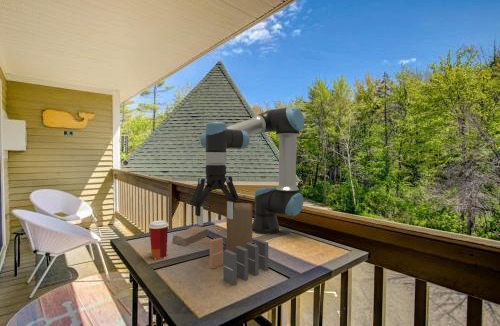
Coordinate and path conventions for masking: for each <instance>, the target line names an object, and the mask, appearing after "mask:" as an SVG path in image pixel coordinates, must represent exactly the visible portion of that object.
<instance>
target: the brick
mask: <svg viewBox="0 0 500 326" xmlns="http://www.w3.org/2000/svg"><path fill="white" fill-rule="evenodd" d="M207 235H208V228H207V227H203V226H191V227H189V228H187V229H185V230H183V231H179V232H176V233H175V234H173V235H172V241H171V243H172V244H173V245H177V246H181V247H186V246H189V245H191V244H194V243H196V242H198V241H201V240H202V239H204V238H206V237H207Z"/></svg>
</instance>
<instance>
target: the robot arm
mask: <svg viewBox="0 0 500 326" xmlns="http://www.w3.org/2000/svg"><path fill="white" fill-rule="evenodd" d="M304 117H305V116H304V114H303V112H302V110H301V109H300V108H298V107H295V106H294V107H293V106H292V107H290V106H288V107H282V108H276V109H273V108H272V109H270V110H266V111H264V112H261V113H259V114H256V115H253V116H252V118H250V119H247V120H244V121H240V122H238V123H234V124H231V125H227V123H226V122H224V121H209V122H207V123H206V126H205V132H203V133H202V134H201V135H200V139H199V140H200V145H201V147H202V148H204V149H205V164H206V165H205V175H206V176H205V178H203V177H198V180H197V185H196V187H195V190H194V192H193V195H192V197H191V199H190V202H189V204H190V205H191V206H193V207H194V211H195V214H194V215H195V216H196V224H197V225H198V226H200V227H203V226H204V207H203V206H202V205H203V204H204V202H205V201H206V199H207V198H208V196H209V195H210V193H211V192H212V191H216V190H220V191H222V193H223V194H224V196H225V197H226V198H227V201H226V219H227V218H229V219H233V210H234V203H237V201H238V200H239V195H238V192H237V189H236V187H235V185H234V182H233V177H232V176H228V175H227V165H226V164H227V150H228V149H229V150H244V149H247V147H249V144H250V136H253V135H255V134H259V135H260V134H264V133H274V132H275V135H276V136H277V138H278V186H276V187H275V186H273V187H270V186H269V187H262V188H257V189H255V191H254V217H253V220H252V233H256V234H261V235H271V234H277V233H279V232H280V224H279V223H278V222H279V221H278V218H277V214H279V215H284V216H289V217H296V216H298V215H299V214H300V212H301V211H302V209H303V207H304V196H303V194H302V193H301V192H300V188H299V187H298V186H297V185H296V184H297V139H298V137H299V136H300V131H302V130H303V129H304V127H305V118H304Z"/></svg>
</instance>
